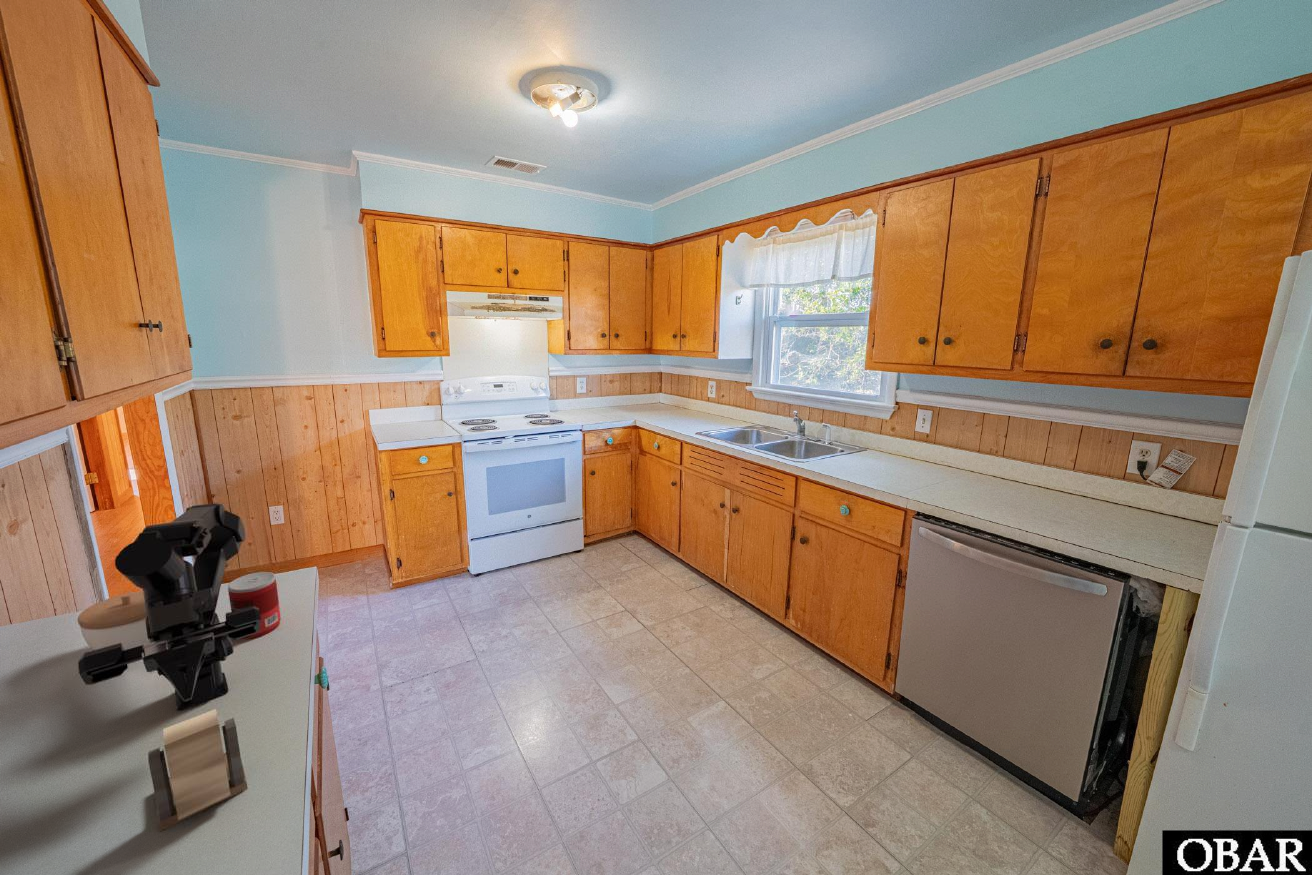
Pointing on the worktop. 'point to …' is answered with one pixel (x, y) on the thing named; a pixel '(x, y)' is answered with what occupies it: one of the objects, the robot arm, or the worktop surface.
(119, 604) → the lidded bowl
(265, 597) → the canned food
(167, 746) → the curved wooden panel
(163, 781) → the wooden phone stand
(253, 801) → the worktop surface
